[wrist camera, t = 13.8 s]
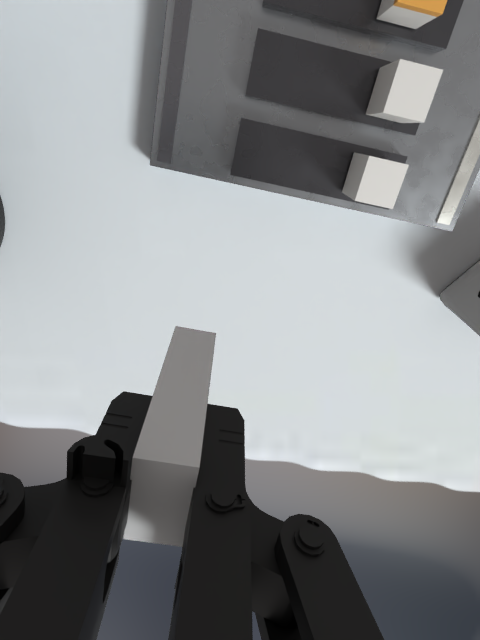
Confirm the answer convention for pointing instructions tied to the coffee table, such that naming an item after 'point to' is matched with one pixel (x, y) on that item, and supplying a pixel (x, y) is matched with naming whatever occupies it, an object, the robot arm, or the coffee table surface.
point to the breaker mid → (404, 91)
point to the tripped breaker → (410, 11)
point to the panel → (228, 104)
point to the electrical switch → (465, 297)
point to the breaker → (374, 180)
